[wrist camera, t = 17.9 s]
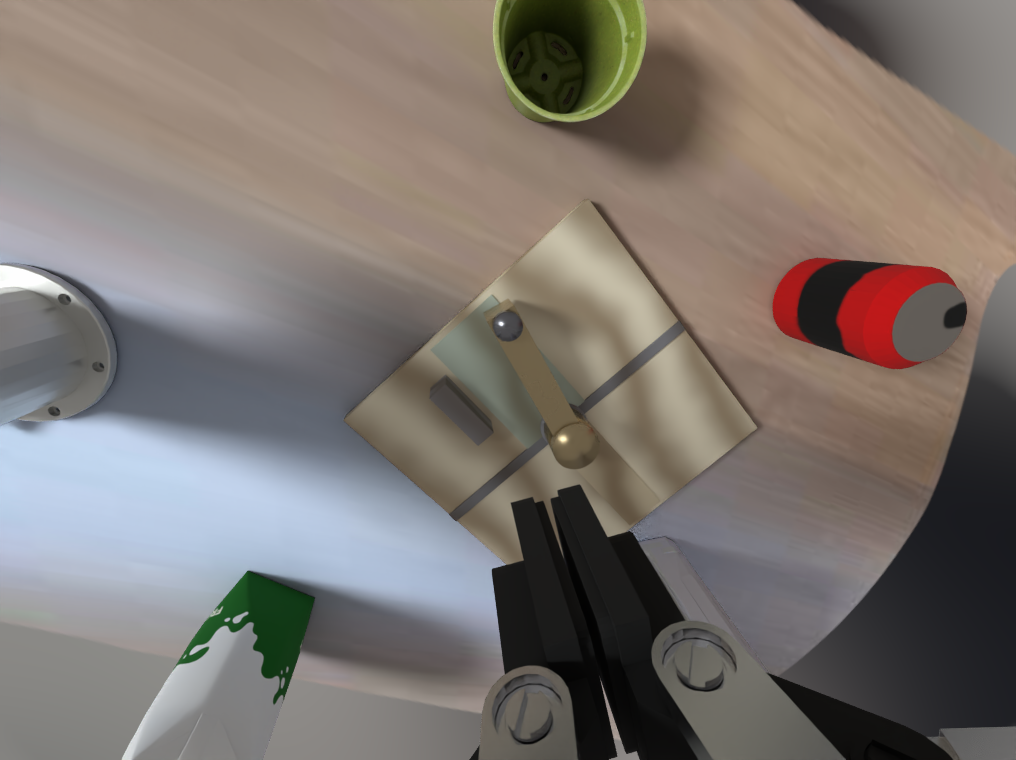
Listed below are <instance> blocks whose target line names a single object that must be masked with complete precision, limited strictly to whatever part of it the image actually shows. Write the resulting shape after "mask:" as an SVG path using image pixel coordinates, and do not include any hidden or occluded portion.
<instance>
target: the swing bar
mask: <svg viewBox="0 0 1016 760" xmlns="http://www.w3.org/2000/svg"><path fill="white" fill-rule="evenodd" d="M483 314H484V316H485V318H486V321H487V323H488V324H489V326H490V328H491V330H492V331H493V333H494V335H495V336H496V338H497V340H498V342H499V343H500V345H501V347H502V349H503V350H504V352H505V354H506V355H507V357H508V359H509V361H510V362H511V364H512V366H513V367H514V369H515V371H516V373H517V374H518V376H519V378H520V379H521V381H522V383H523V385H524V386H525V388H526V390H527V392H528V393H529V395H530V397H531V398H532V400H533V402H534V404H535V405H536V407H537V409H538V410H539V412H540V414H541V416H542V417H543V419H544V421H545V424H544V435H545V437H546V440H547V442H548V444H549V446H550V448H551V450H552V452H553V455H554V457H555V459H556V460H557V462H558V463H559V464H560V465H561V466H563V467H565V468H568V469H581V468H584V467H586V466H588V465H589V464H591V463H592V462H593V461H594V460H595V459H596V457H597V455H598V453H599V450H600V441H599V438H598V436H597V434H596V433H595V431H594V430H593V429H592V427H591V426H590V425H589V423H588V422H587V420H586V419H585V418H584V416H583V415H582V414H581V413H580V412H579V411H578V410H576V409H573V408H571V407H570V405H569V404H568V402H567V400H566V398H565V396H564V395H563V393H562V391H561V389H560V387H559V385H558V384H557V382H556V380H555V378H554V376H553V375H552V373H551V371H550V369H549V367H548V366H547V364H546V362H545V360H544V358H543V357H542V355H541V353H540V351H539V349H538V347H537V346H536V344H535V342H534V340H533V338H532V337H531V335H530V333H529V331H528V329H527V328H526V326H525V324H524V322H523V320H522V319H521V317H520V315H519V313H518V311H517V309H516V308H515V306H514V304H513V303H512V302H511V301H510V300H509V299H506V300H504V301H503V302H501V303H499V304H497V305H496V306H494V307H492V308H490V309H489V310H487V311H485V312H484V313H483Z"/></svg>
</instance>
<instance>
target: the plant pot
mask: <svg viewBox="0 0 1016 760" xmlns="http://www.w3.org/2000/svg"><path fill="white" fill-rule="evenodd" d="M646 41H647V24H646V13H645V8H644V4H643V0H497V2H496V6H495V11H494V19H493V42H494V50H495V55H496V59H497V62H498V66H499V68H500V71H501V73H502V76H503V78H504V80H505V87H506V90H507V93H508V96H509V98H510V101H511V102H512V104H513V105H514V107H515V108H516V109H517V110H518V111H519V112H520V113H521V114H522V115H523V116H525V117H526V118H528V119H531V120H533V121H537V122H552V121H560V122H579V121H584V120H588V119H591V118H594V117H596V116H599V115H601V114H602V113H604V112H606V111H607V110H609V109H610V108H612V107H613V106H614V105H615V104H616V103H617V102H618V101H619V100H620V99H621V98H622V97H623V96H624V95H625V94H626V92H627V91H628V90H629V88H630V87H631V85H632V83H633V82H634V80H635V78H636V76H637V74H638V72H639V69H640V66H641V63H642V60H643V57H644V52H645V47H646ZM553 42H556V43H558V44H560V45H561V46H562V47H563V48H564V49H565V50H566V52H567V55H565V56H564V55H563V54H562V53H561V52H560V51H559V50H558V49H556V48H554V47H552V45H551V43H553ZM519 52H523V55H522V57H521V58H520V60H519V62H518V64H517V66H516V69H515V70H514V69H513V66H512V65H513V62H514V60H515V58H516V55H517V54H518V53H519ZM544 73H546V74H547V76H548V78H547V80H546V81H543V80H542V79H541V76H542V74H544ZM571 87H573V88H574V92H573V94H572V95H571V99H570V101H569V102H568V103H567V104H564V103H563V101H564V100H565V98H566V97H567V95H568V93H569V91H570V88H571Z"/></svg>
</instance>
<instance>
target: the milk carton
mask: <svg viewBox="0 0 1016 760" xmlns="http://www.w3.org/2000/svg"><path fill="white" fill-rule="evenodd" d="M314 600H315V598H314V597H311V596H309V595H306V594H304V593H301V592H299V591H297V590H294V589H292V588H289V587H287V586H284V585H282V584H279V583H277V582H274V581H272V580H269V579H267V578H264V577H262V576H259V575H257V574H255V573H252V572H250V571H247V572H246V573H245V575H244V576H243V577H242V578H241V579H240V581H239V582H238V583H237V584H236V585H235V586H234V588H233V589H232V590H231V591H230V592H229V593H228V595H227V596H226V597H225V598H224V599H223V601H222V602H221V603H220V604H219V605H218V606H217V608H216V609H215V610H214V611H213V612H212V614H211V615H210V616H209V617H208V618H207V620H206V621H205V622H204V624H203V625H202V626H201V628H200V629H199V631H198V632H197V634H196V635H195V637H194V638H193V639H192V641H191V642H190V644H189V645H188V647H187V649H186V650H185V652H184V653H183V655H182V657H181V658H180V660H179V661H178V663H177V665H176V666H175V668H174V670H173V671H172V673H171V674H170V676H169V678H168V679H167V681H166V682H165V684H164V686H163V687H162V689H161V690H160V692H159V694H158V695H157V697H156V698H155V700H154V702H153V703H152V705H151V707H150V708H149V710H148V711H147V713H146V715H145V717H144V718H143V720H142V722H141V724H140V726H139V728H138V730H137V732H136V734H135V736H134V737H133V739H132V740H131V742H130V744H129V746H128V748H127V750H126V752H125V754H124V756H123V758H122V760H263V757H264V755H265V752H266V749H267V746H268V743H269V741H270V738H271V735H272V732H273V729H274V726H275V723H276V720H277V718H278V715H279V712H280V709H281V706H282V703H283V700H284V697H285V694H286V692H287V689H288V686H289V683H290V680H291V677H292V674H293V672H294V669H295V666H296V663H297V660H298V657H299V654H300V650H301V647H302V643H303V640H304V636H305V632H306V629H307V625H308V621H309V618H310V614H311V611H312V607H313V603H314Z"/></svg>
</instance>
